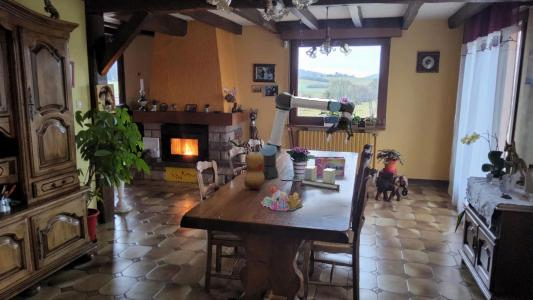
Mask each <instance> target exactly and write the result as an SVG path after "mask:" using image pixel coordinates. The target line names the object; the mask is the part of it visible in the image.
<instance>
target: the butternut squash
mask: <svg viewBox="0 0 533 300" xmlns="http://www.w3.org/2000/svg"><path fill="white" fill-rule="evenodd" d="M245 166H246V167H245V168H246V172H245V175H244V179H243V181H244V182H243V183H244V185H245V187H246V188H248V189H250V190H258V189H261V187H263V186H264V183H265V178H264V174H263V168H264V156H263V154H261V152H259V151H251V152H249V153H248V154H247V156H246V161H245Z"/></svg>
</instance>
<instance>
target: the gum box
mask: <svg viewBox="0 0 533 300" xmlns="http://www.w3.org/2000/svg"><path fill="white" fill-rule="evenodd" d="M314 166H315V167H317V176H323V170H324V169H327V168H330V169H336V170H335V176H345V168H346V158H345V157H344V156H315V157H314Z"/></svg>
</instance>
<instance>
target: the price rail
mask: <svg viewBox="0 0 533 300" xmlns="http://www.w3.org/2000/svg"><path fill="white" fill-rule="evenodd" d="M300 186H306V187H312V188H317V189H323V190H324V189H325V190H329V191H335V190H336V192H339V191H340V189H341V187H340V184H338V183H335V184H333V183H327V182H322V181H319V180H317V181H314V180H307V179H304V178H301V179H300Z"/></svg>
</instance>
